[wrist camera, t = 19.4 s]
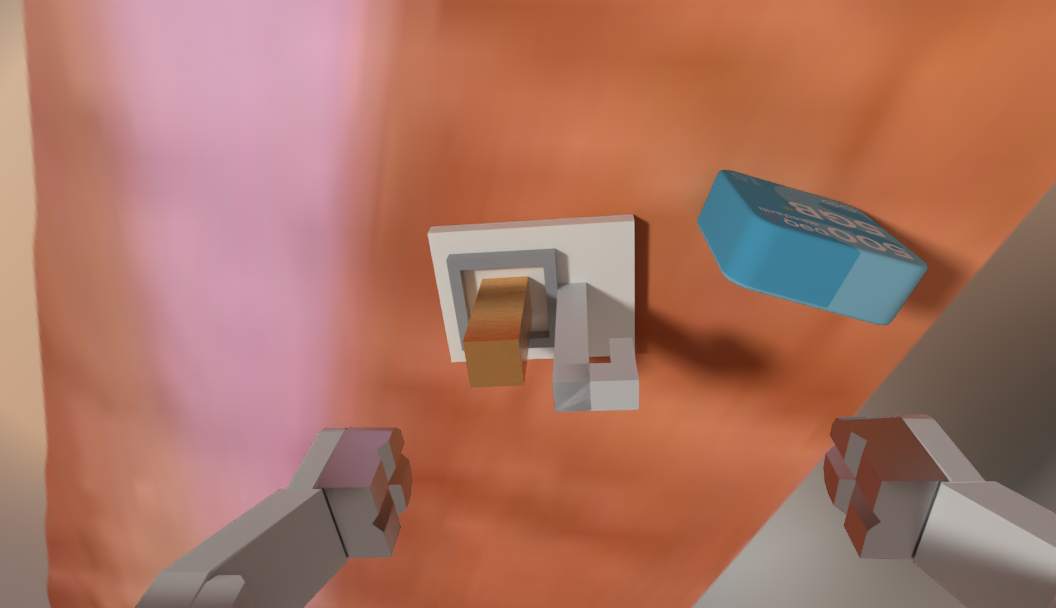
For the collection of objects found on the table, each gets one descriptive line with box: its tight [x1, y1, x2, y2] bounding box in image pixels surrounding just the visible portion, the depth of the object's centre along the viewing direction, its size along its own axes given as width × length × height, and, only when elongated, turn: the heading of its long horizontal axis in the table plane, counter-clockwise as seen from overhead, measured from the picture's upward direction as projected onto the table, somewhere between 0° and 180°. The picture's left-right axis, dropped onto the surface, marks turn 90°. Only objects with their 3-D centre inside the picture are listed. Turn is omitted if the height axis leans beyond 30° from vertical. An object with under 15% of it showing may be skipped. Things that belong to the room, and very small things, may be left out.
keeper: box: [428, 214, 639, 412], centre depth 45 cm, size 17×13×16 cm
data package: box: [697, 170, 928, 325], centre depth 41 cm, size 12×4×12 cm, turn 75°
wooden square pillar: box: [463, 276, 533, 387], centre depth 46 cm, size 4×4×10 cm
